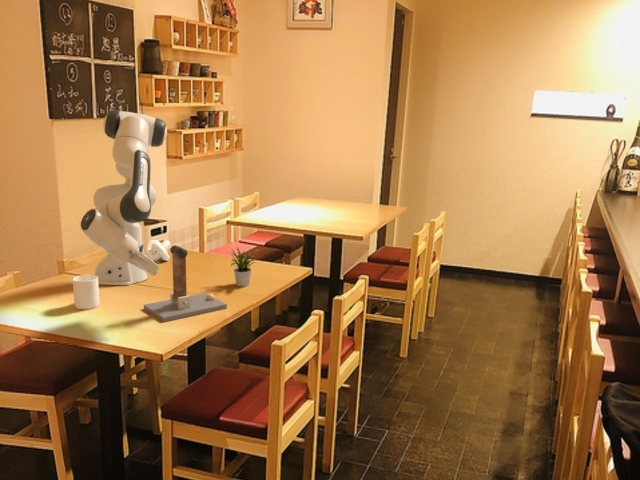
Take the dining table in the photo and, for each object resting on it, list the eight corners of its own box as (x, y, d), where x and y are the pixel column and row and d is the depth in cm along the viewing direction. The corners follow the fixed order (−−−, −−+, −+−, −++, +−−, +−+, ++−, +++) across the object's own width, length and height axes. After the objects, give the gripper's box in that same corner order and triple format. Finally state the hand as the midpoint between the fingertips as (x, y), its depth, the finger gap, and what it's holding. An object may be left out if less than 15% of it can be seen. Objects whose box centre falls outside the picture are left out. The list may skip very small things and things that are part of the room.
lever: (180, 303, 206) (178, 249, 202) (171, 298, 211) (170, 245, 206) (188, 301, 208) (187, 248, 204) (180, 296, 213) (178, 244, 208)
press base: (163, 322, 198) (163, 306, 197) (143, 308, 210) (143, 293, 209) (226, 308, 213) (226, 293, 212) (204, 296, 225) (204, 282, 224)
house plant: (214, 286, 237) (214, 246, 233) (232, 277, 250) (232, 239, 246) (246, 291, 232) (246, 250, 228) (263, 282, 245) (263, 243, 241)
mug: (85, 298, 219) (83, 271, 217) (107, 299, 219) (105, 272, 216) (70, 309, 207) (68, 281, 205) (93, 310, 207) (92, 282, 205)
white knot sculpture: (157, 255, 282) (156, 237, 280) (178, 258, 278) (178, 239, 276) (141, 261, 272) (140, 241, 270) (163, 264, 268) (162, 244, 266)
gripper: (144, 247, 186) (174, 272, 194) (119, 235, 201) (148, 259, 209) (130, 263, 184) (161, 288, 192) (106, 250, 199) (136, 274, 208)
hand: (154, 273), depth 201 cm, fingers closed
